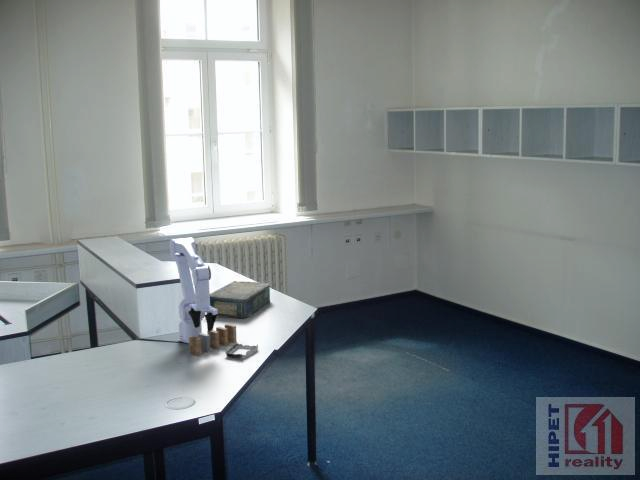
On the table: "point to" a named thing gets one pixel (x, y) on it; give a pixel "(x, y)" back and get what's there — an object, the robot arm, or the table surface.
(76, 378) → the table surface
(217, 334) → the domino
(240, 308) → the metal box
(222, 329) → the domino
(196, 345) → the domino
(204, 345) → the domino
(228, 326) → the domino
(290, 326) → the table surface
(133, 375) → the table surface
